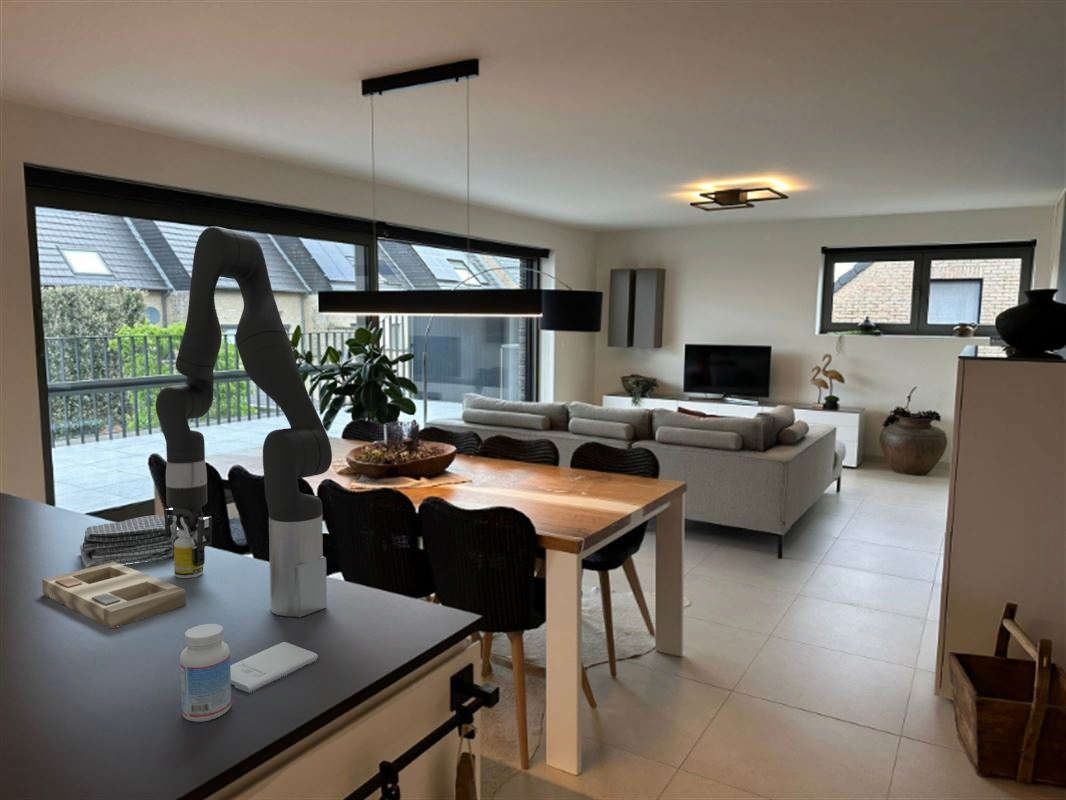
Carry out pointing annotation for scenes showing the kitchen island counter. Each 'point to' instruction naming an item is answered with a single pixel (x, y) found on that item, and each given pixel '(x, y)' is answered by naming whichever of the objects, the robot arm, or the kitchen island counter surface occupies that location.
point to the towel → (127, 542)
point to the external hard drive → (268, 665)
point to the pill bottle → (205, 674)
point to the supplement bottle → (184, 557)
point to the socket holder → (114, 593)
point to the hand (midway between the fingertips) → (189, 561)
